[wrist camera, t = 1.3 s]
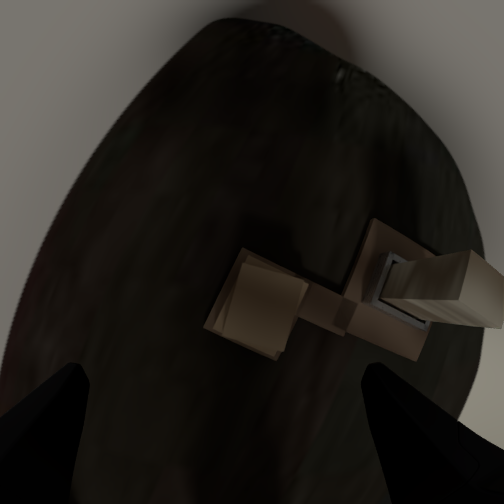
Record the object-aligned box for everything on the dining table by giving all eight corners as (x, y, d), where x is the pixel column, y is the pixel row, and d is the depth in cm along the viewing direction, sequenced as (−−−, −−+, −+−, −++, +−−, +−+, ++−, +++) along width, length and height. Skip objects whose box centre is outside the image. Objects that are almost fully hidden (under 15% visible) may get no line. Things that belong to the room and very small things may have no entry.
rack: (391, 401, 23) (404, 410, 20) (204, 326, 23) (200, 330, 20) (445, 266, 25) (461, 264, 22) (280, 172, 25) (284, 159, 22)
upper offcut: (280, 347, 21) (283, 352, 19) (222, 332, 21) (221, 335, 19) (299, 280, 21) (304, 280, 20) (242, 264, 21) (242, 262, 20)
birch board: (413, 318, 23) (501, 328, 12) (371, 297, 23) (458, 300, 12) (423, 288, 24) (512, 284, 13) (384, 265, 24) (471, 249, 13)
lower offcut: (271, 352, 22) (274, 356, 21) (214, 325, 22) (212, 328, 21) (304, 284, 23) (309, 284, 21) (247, 257, 23) (248, 255, 21)
